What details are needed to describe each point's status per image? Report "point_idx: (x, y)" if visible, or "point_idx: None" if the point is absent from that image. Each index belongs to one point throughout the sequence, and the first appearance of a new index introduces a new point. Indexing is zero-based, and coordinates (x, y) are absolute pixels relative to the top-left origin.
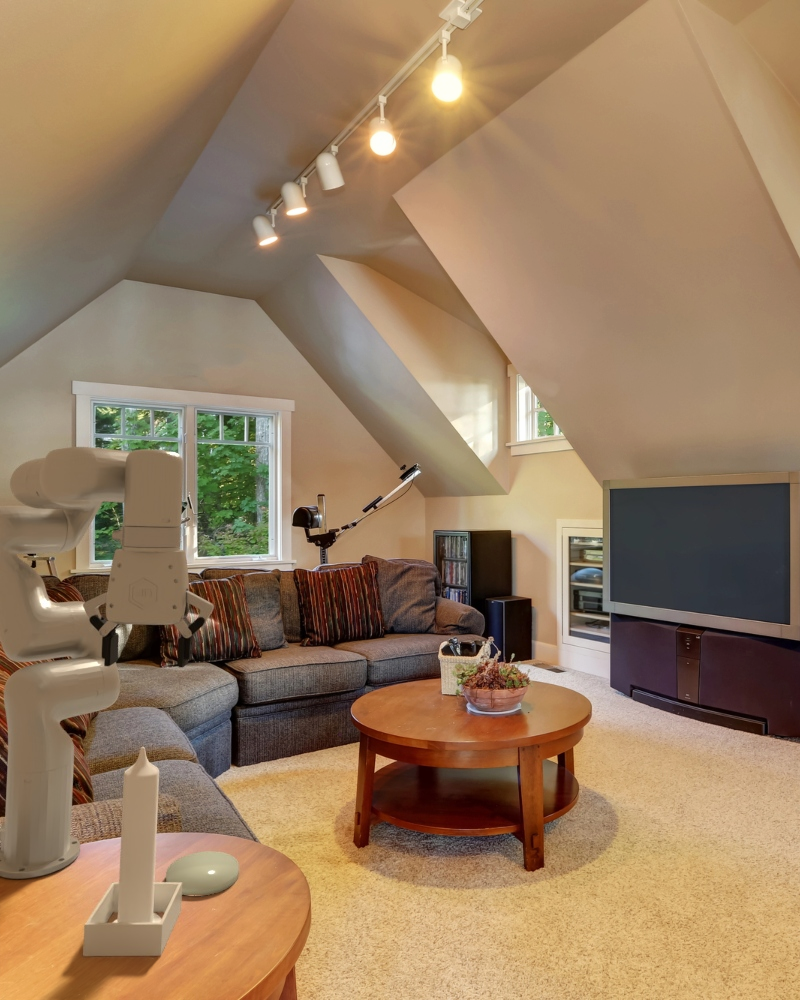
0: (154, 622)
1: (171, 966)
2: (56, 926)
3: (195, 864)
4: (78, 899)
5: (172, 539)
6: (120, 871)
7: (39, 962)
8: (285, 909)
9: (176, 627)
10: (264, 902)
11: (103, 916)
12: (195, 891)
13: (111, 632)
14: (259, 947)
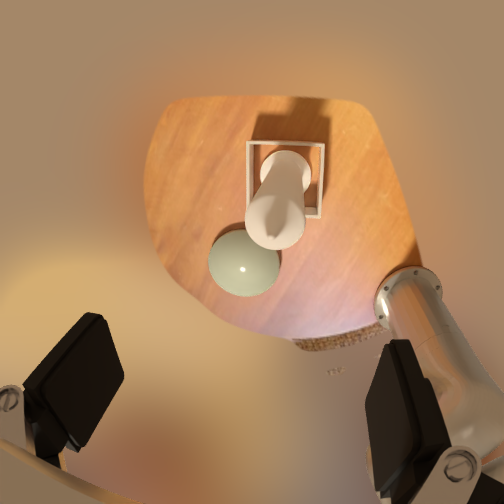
0: (63, 485)
1: (237, 125)
2: (361, 189)
3: (253, 274)
4: (355, 231)
5: None
6: (299, 176)
7: (357, 137)
8: (157, 206)
9: (23, 438)
10: (177, 217)
11: (318, 183)
12: (242, 230)
13: (415, 479)
14: (168, 152)
